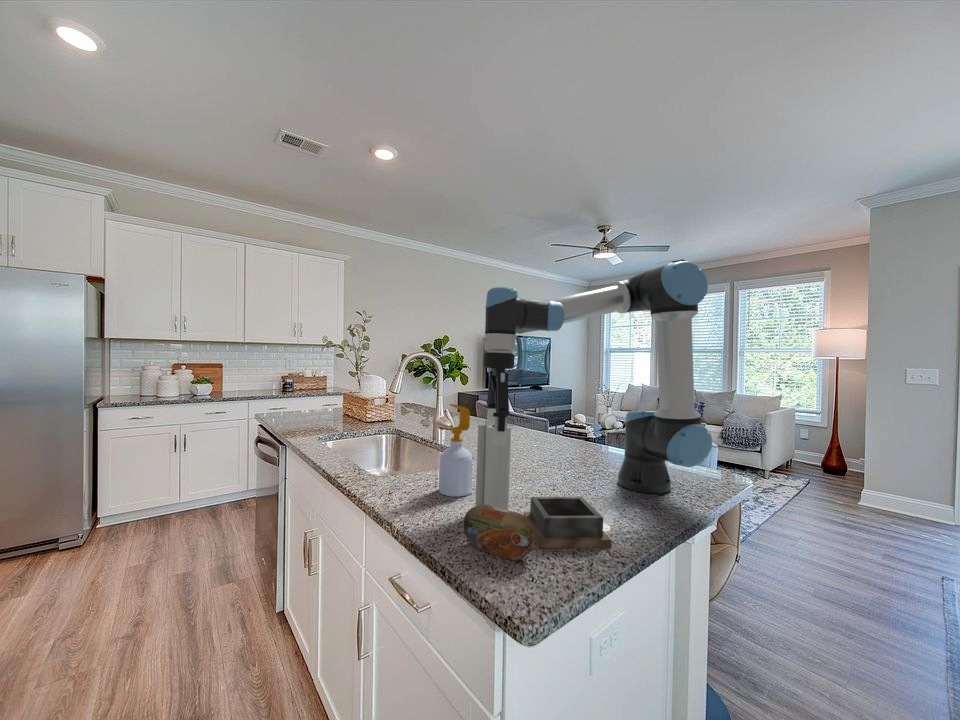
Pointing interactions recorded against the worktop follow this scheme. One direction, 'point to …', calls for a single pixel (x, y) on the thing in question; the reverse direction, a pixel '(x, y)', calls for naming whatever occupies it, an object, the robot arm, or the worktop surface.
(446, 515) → the worktop surface
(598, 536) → the open box on board
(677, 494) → the worktop surface
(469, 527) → the tin
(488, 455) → the paper towel roll
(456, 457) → the soap bottle
